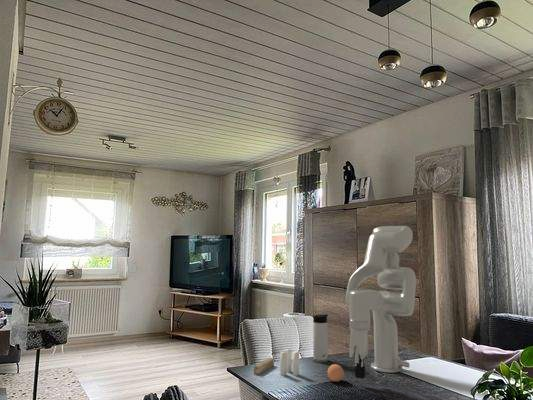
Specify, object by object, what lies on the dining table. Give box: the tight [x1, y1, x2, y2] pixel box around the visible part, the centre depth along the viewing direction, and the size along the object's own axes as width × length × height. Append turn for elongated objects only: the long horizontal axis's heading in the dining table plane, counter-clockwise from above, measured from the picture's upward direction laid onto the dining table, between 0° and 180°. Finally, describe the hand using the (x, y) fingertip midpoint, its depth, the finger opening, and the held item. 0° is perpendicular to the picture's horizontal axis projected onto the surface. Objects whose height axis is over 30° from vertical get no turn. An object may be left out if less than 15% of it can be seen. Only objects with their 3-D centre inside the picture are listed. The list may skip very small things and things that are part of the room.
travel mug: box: [312, 314, 329, 363], centre depth 177 cm, size 6×7×20 cm
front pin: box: [292, 351, 300, 377], centre depth 155 cm, size 2×2×8 cm
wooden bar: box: [253, 357, 275, 376], centre depth 161 cm, size 2×14×3 cm, turn 153°
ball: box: [327, 363, 345, 382], centre depth 148 cm, size 6×6×6 cm
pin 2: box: [285, 348, 293, 373], centre depth 160 cm, size 2×2×8 cm
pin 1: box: [279, 351, 288, 377], centre depth 155 cm, size 2×2×8 cm
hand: (360, 377), depth 143 cm, fingers closed
